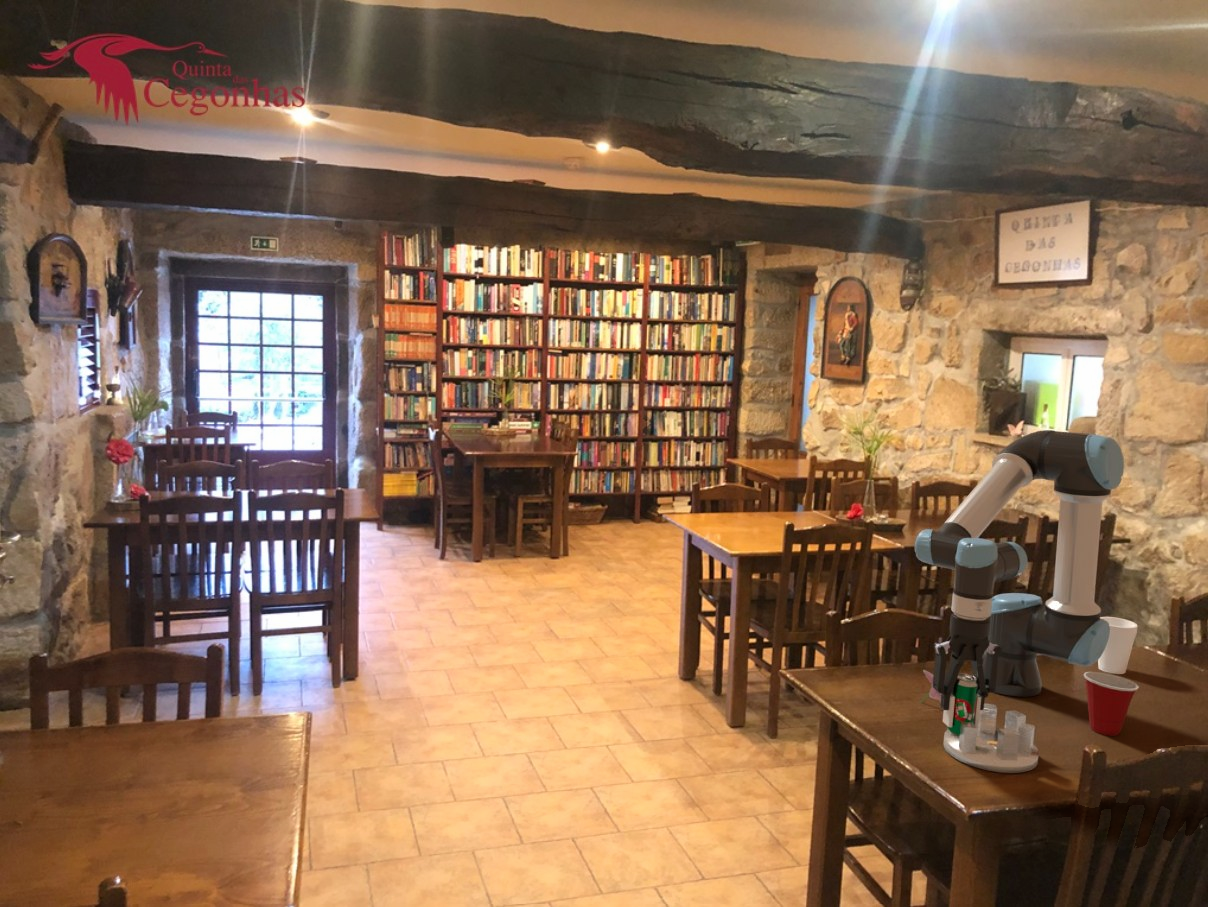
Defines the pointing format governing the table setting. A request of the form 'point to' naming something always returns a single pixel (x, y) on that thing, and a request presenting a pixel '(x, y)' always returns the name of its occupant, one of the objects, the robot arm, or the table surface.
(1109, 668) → the foam cup
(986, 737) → the round white pillared stand
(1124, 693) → the plastic cup
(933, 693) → the lily
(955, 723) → the soda can
